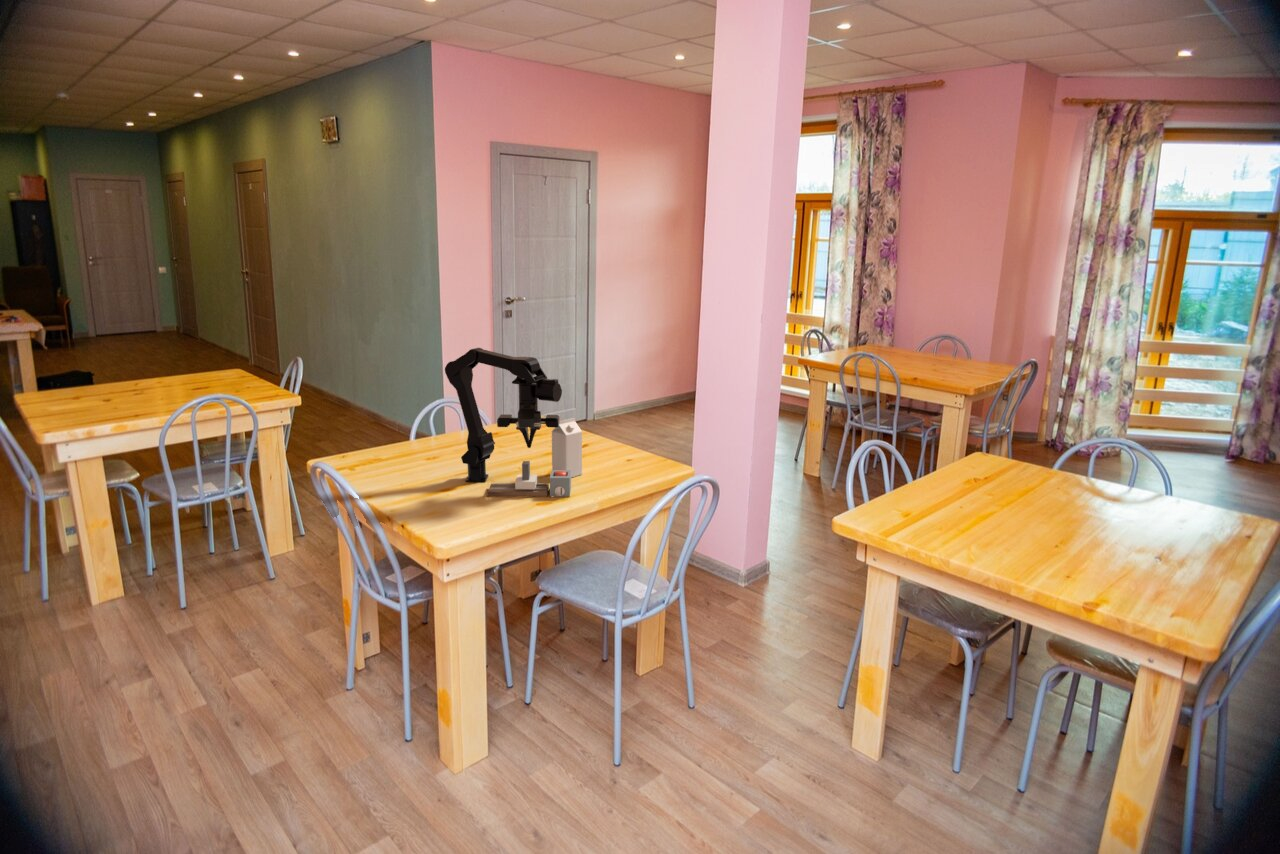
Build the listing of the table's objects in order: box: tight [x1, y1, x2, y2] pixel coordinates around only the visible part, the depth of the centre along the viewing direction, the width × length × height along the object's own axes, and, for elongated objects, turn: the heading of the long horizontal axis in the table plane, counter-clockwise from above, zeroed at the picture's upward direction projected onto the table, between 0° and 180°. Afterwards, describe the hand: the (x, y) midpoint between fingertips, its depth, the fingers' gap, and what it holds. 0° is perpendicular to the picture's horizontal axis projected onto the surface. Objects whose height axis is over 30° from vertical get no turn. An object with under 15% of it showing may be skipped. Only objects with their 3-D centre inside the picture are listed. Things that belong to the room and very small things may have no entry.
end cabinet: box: [549, 469, 572, 498], centre depth 235 cm, size 8×6×6 cm
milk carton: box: [551, 417, 583, 478], centre depth 251 cm, size 7×7×19 cm
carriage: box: [514, 460, 538, 489], centre depth 234 cm, size 7×6×7 cm
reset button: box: [555, 471, 566, 476], centre depth 235 cm, size 4×4×3 cm
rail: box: [486, 482, 550, 498], centre depth 235 cm, size 8×18×2 cm, turn 92°
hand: (529, 447), depth 237 cm, fingers closed
